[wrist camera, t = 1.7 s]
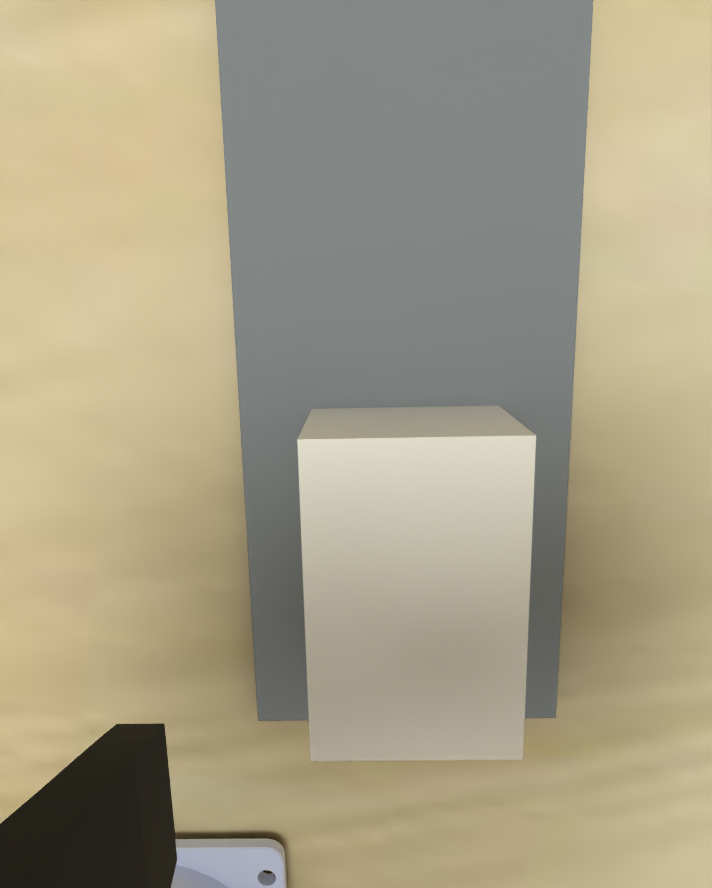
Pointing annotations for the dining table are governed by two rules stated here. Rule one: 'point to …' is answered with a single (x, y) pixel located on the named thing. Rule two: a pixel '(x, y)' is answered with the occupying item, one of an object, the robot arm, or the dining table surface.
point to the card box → (416, 581)
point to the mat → (400, 256)
